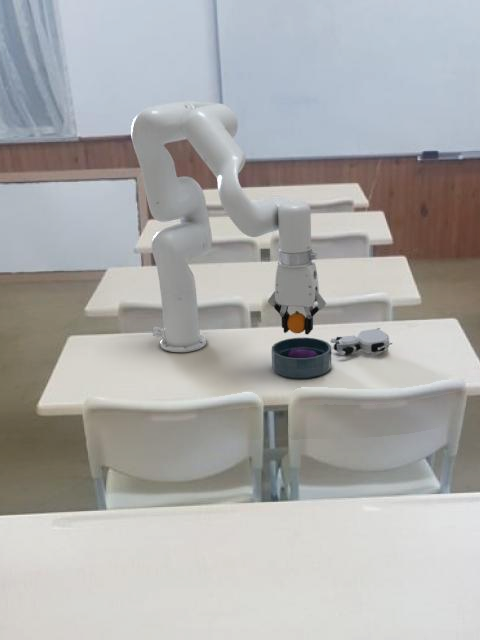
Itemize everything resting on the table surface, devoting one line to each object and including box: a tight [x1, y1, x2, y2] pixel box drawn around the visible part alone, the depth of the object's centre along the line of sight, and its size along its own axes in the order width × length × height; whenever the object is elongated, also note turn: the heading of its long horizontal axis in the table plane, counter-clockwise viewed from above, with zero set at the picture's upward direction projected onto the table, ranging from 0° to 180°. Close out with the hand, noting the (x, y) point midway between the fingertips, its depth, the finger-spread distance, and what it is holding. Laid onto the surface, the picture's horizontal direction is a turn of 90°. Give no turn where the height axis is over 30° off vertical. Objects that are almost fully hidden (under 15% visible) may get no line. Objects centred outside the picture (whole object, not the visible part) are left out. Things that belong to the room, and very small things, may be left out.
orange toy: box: [287, 310, 306, 334], centre depth 208 cm, size 5×5×6 cm
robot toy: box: [330, 327, 393, 357], centre depth 226 cm, size 12×4×15 cm
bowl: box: [271, 337, 332, 380], centre depth 217 cm, size 15×15×6 cm
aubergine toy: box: [288, 349, 319, 358], centre depth 218 cm, size 9×4×4 cm, turn 72°
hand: (297, 331), depth 210 cm, fingers closed on orange toy, 4 cm apart
